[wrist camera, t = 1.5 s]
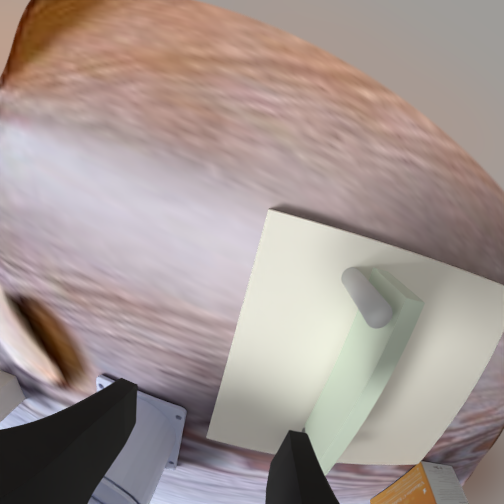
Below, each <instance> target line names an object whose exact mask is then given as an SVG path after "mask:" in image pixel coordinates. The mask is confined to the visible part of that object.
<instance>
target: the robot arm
mask: <svg viewBox="0 0 504 504" xmlns="http://www.w3.org/2000/svg"><path fill="white" fill-rule="evenodd" d="M96 384H97V392H96V393H95V394H93V395H91V396H89V397H88V398H86V399H84V400H82V401H80V402H78V403H76V404H74V405H72V406H70V407H68V408H66V409H64V410H62V411H59V412H57V413H55V414H53V415H50V416H48V417H45V418H42V419H40V420H37V421H34V422H31V423H27V424H24V425H20V426H16V427H11V428H7V429H2V430H0V504H149V503H150V501H151V499H152V496H153V494H154V492H155V489H156V487H157V485H158V482H159V480H160V478H161V475H162V473H163V471H164V468H166V469H169V470H175V469H176V466H177V461H178V455H179V450H180V444H181V439H182V434H183V429H184V423H185V418H186V413H187V412H186V410H185V409H184V408H183V407H180V406H177V405H174V404H172V403H169V402H166V401H163V400H161V399H158V398H155V397H153V396H150V395H147V394H145V393H142V392H140V391H137V384H134V383H132V382H130V381H127V380H125V379H123V378H120V379H118V380H117V381H114V380H112V379H109V378H107V377H105V376H103V375H99V376H98V377H97V378H96ZM178 415H179V416H181V417H179V416H178ZM266 504H339V502H338V500H337V498H336V497H335V495H334V493H333V491H332V489H331V487H330V485H329V483H328V481H327V479H326V477H325V475H324V473H323V471H322V468H321V466H320V464H319V462H318V459H317V457H316V454H315V452H314V449H313V447H312V444H311V441H310V439H309V436H308V434H307V433H303V432H297V431H292V430H289V431H288V433H287V435H286V437H285V438H284V440H283V442H282V444H281V446H280V448H279V449H278V451H277V453H276V455H275V457H274V458H273V460H272V462H271V465H270V470H269V475H268V481H267V487H266Z"/></svg>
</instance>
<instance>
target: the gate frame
mask: <svg viewBox="0 0 504 504" xmlns="http://www.w3.org/2000/svg"><path fill="white" fill-rule="evenodd" d="M373 267H374V268H377V269H381V270H384V271H388V272H389V273H391V274H392V275H393V276H394V277H395V278H397V279H398V280H399V281H400V282H401V283H403V284H404V285H405V286H406V287H407V288H408V289H410V290H411V291H412V292H413V293H414V294H415V295H417V296H418V297H419V298H420V299H421V300H422V301H423V302H425V304H424V307H423V309H422V311H421V314H420V316H419V319H418V321H417V323H416V325H415V328H414V330H413V332H412V334H411V336H410V339H409V341H408V343H407V345H406V347H405V349H404V351H403V353H402V355H401V357H400V359H399V361H398V363H397V365H396V367H395V369H394V371H393V373H392V375H391V377H390V378H389V380H388V382H387V384H386V386H385V387H384V389H383V391H382V393H381V394H380V396H379V398H378V400H377V401H376V403H375V405H374V406H373V408H372V410H371V411H370V413H369V415H368V416H367V418H366V419H365V421H364V422H363V424H362V426H361V427H360V429H359V430H358V432H357V433H356V435H355V436H354V438H353V439H352V441H351V442H350V443H349V445H348V446H347V448H346V449H345V451H344V452H343V453H342V455H341V456H340V457H339V459H338V460H337V462H336V463H347V464H366V465H413V464H419V462H420V461H421V460H422V459H423V458H424V457H425V455H426V454H427V453H428V452H429V451H430V449H431V448H432V447H433V446H434V444H435V443H436V442H437V441H438V439H439V438H440V437H441V435H442V434H443V433H444V431H445V430H446V429H447V427H448V426H449V425H450V423H451V422H452V420H453V419H454V418H455V416H456V415H457V413H458V412H459V410H460V409H461V407H462V406H463V404H464V403H465V401H466V400H467V398H468V396H469V395H470V393H471V392H472V390H473V388H474V387H475V385H476V383H477V382H478V380H479V378H480V376H481V375H482V373H483V371H484V369H485V367H486V366H487V364H488V362H489V360H490V358H491V356H492V354H493V352H494V350H495V348H496V346H497V344H498V342H499V340H500V338H501V336H502V334H503V331H504V285H503V284H500V283H498V282H495V281H492V280H490V279H487V278H485V277H482V276H479V275H477V274H474V273H471V272H468V271H466V270H463V269H460V268H457V267H455V266H452V265H449V264H446V263H443V262H441V261H438V260H435V259H432V258H429V257H426V256H423V255H420V254H417V253H415V252H412V251H409V250H406V249H403V248H400V247H397V246H393V245H390V244H387V243H384V242H381V241H378V240H375V239H372V238H369V237H365V236H362V235H359V234H356V233H352V232H349V231H346V230H343V229H339V228H336V227H333V226H329V225H326V224H323V223H319V222H316V221H312V220H309V219H305V218H302V217H298V216H295V215H291V214H288V213H284V212H280V211H277V210H273V209H270V208H269V209H268V213H267V216H266V220H265V224H264V228H263V231H262V235H261V239H260V242H259V246H258V250H257V253H256V257H255V261H254V265H253V268H252V272H251V276H250V279H249V283H248V287H247V290H246V294H245V298H244V301H243V305H242V309H241V312H240V316H239V320H238V323H237V327H236V331H235V334H234V338H233V342H232V345H231V349H230V353H229V356H228V360H227V364H226V367H225V371H224V375H223V378H222V382H221V385H220V389H219V393H218V396H217V400H216V403H215V407H214V411H213V414H212V418H211V422H210V425H209V429H208V432H207V436H206V438H208V439H211V440H215V441H218V442H222V443H226V444H230V445H234V446H238V447H242V448H246V449H251V450H255V451H260V452H265V453H270V454H276V453H277V451H278V449H279V448H280V446H281V444H282V442H283V440H284V438H285V437H286V435H287V433H288V431H289V430H292V431H297V432H302V429H303V428H305V424H306V422H307V420H308V418H309V416H310V414H311V412H312V410H313V408H314V406H315V404H316V403H317V401H318V399H319V397H320V395H321V393H322V390H323V388H324V386H325V384H326V382H327V380H328V378H329V376H330V374H331V372H332V369H333V367H334V365H335V363H336V361H337V358H338V356H339V354H340V352H341V349H342V347H343V345H344V342H345V340H346V338H347V335H348V333H349V331H350V328H351V326H352V323H353V321H354V318H355V316H356V313H357V311H358V309H359V311H360V312H361V314H362V316H363V317H364V319H365V321H366V323H367V324H368V325H369V326H370V327H371V328H375V329H379V328H382V327H384V326H386V325H387V324H388V323H389V322H390V320H391V318H392V314H393V311H392V308H391V306H390V305H389V304H388V302H387V301H386V300H385V299H384V298H383V297H382V296H381V294H380V293H379V292H378V291H377V290H376V289H375V288H374V286H373V285H372V284H371V283H370V282H369V278H370V275H371V273H372V270H373Z"/></svg>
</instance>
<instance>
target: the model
mask: <svg viewBox="0 0 504 504" xmlns="http://www.w3.org/2000/svg"><path fill="white" fill-rule="evenodd" d="M25 399H26V398H25V396H24V394H23V392H22V389H21V387H20V385H19V383H18V380H17V378H16V376H14V375H11V374H9V373H6V372H4V371H1V370H0V422H1V421H2V420H3V419H4V418H5V417H6V416H7V415H8V414H10V413H11V412H12V411H13V410H14V409H15V408H16V407H17V406H18V405H19V404H20V403H22V402H23V401H24V400H25Z"/></svg>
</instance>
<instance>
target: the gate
mask: <svg viewBox="0 0 504 504" xmlns="http://www.w3.org/2000/svg"><path fill="white" fill-rule="evenodd" d="M369 282H370V283H371V284H372V285H373V286H374V288H375V289H376V290H377V291H378V292H379V293H380V294H381V296H382V297H383V298H384V299H385V300H386V301H387V302H388V304H389V305H390V306H391V308H392V311H393V314H392V318H391V320H390V322H389V323H388V324H387V325H386V326H384V327H382V328H379V329H375V328H371V327H370V326H369V325H368V324H367V323H366V321H365V319H364V317H363V316H362V314H361V312H360V311H359V309H358V311H357V313H356V316H355V318H354V321H353V323H352V326H351V328H350V331H349V333H348V335H347V338H346V340H345V342H344V345H343V347H342V349H341V352H340V354H339V356H338V358H337V361H336V363H335V365H334V367H333V369H332V372H331V374H330V376H329V378H328V380H327V382H326V384H325V386H324V388H323V390H322V393H321V395H320V397H319V399H318V401H317V403H316V404H315V406H314V408H313V410H312V412H311V414H310V416H309V418H308V420H307V422H306V424H305V428H303V429H302V432H303V433H307V434H308V436H309V439H310V441H311V444H312V447H313V449H314V452H315V454H316V457H317V459H318V462H319V464H320V466H321V468H322V471H323V473H324V475H325V476H326V475H327V473H328V472H329V471H330V469H331V468H332V467H333V466H334V464H335V463H336V462H337V460H338V459H339V457H340V456H341V455H342V453H343V452H344V451H345V449H346V448H347V446H348V445H349V443H350V442H351V441H352V439H353V438H354V436H355V435H356V433H357V432H358V430H359V429H360V427H361V426H362V424H363V422H364V421H365V419H366V418H367V416H368V415H369V413H370V411H371V410H372V408H373V406H374V405H375V403H376V401H377V400H378V398H379V396H380V394H381V393H382V391H383V389H384V387H385V386H386V384H387V382H388V380H389V378H390V377H391V375H392V373H393V371H394V369H395V367H396V365H397V363H398V361H399V359H400V357H401V355H402V353H403V351H404V349H405V347H406V345H407V343H408V341H409V339H410V336H411V334H412V332H413V330H414V328H415V325H416V323H417V321H418V319H419V316H420V314H421V311H422V309H423V307H424V304H425V302H423V301H422V300H421V299H420V298H419V297H418V296H417V295H415V294H414V293H413V292H412V291H411V290H410V289H408V288H407V287H406V286H405V285H404V284H403V283H401V282H400V281H399V280H398V279H397V278H395V277H394V276H393V275H392V274H391V273H389V272H388V271H384V270H381V269H377V268H374V267H373V270H372V273H371V275H370V278H369Z"/></svg>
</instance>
